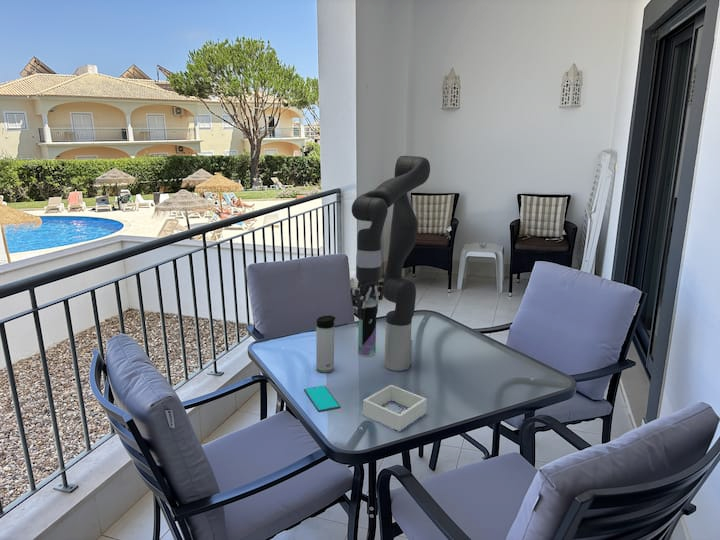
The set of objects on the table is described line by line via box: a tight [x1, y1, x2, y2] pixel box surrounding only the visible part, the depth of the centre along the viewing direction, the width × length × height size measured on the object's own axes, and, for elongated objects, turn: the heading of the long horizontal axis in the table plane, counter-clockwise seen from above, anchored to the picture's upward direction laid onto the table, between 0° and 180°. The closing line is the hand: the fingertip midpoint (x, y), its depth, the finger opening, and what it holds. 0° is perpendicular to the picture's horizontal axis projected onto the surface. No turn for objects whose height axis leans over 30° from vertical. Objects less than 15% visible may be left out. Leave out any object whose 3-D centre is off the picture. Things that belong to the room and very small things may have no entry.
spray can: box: [357, 296, 378, 358], centre depth 157 cm, size 6×6×20 cm
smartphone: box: [303, 385, 341, 413], centre depth 161 cm, size 7×1×15 cm
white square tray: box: [362, 384, 428, 430], centre depth 152 cm, size 14×14×5 cm
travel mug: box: [315, 315, 336, 374], centre depth 179 cm, size 6×7×20 cm
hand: (367, 316), depth 157 cm, fingers closed on spray can, 5 cm apart
